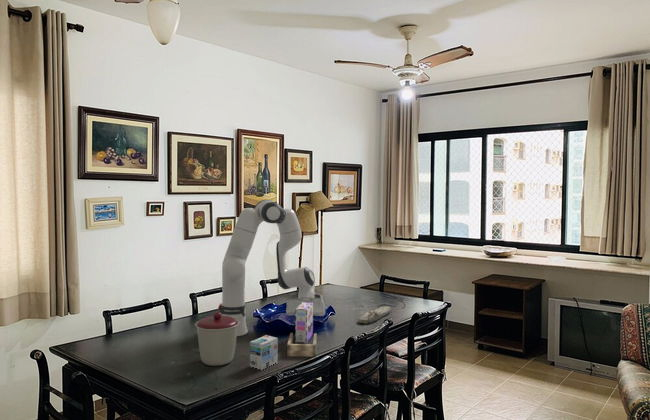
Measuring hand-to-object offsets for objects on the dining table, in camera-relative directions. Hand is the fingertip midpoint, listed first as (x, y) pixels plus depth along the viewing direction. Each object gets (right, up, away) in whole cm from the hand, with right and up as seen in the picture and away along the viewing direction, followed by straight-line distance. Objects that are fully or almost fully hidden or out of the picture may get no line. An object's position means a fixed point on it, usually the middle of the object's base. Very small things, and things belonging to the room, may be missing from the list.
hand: (305, 322), depth 242 cm
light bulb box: (-15, -7, -44) cm, 48 cm away
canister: (-35, -7, -41) cm, 55 cm away
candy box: (0, -6, -11) cm, 12 cm away
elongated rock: (+39, -4, +29) cm, 49 cm away
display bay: (0, -6, -25) cm, 26 cm away
